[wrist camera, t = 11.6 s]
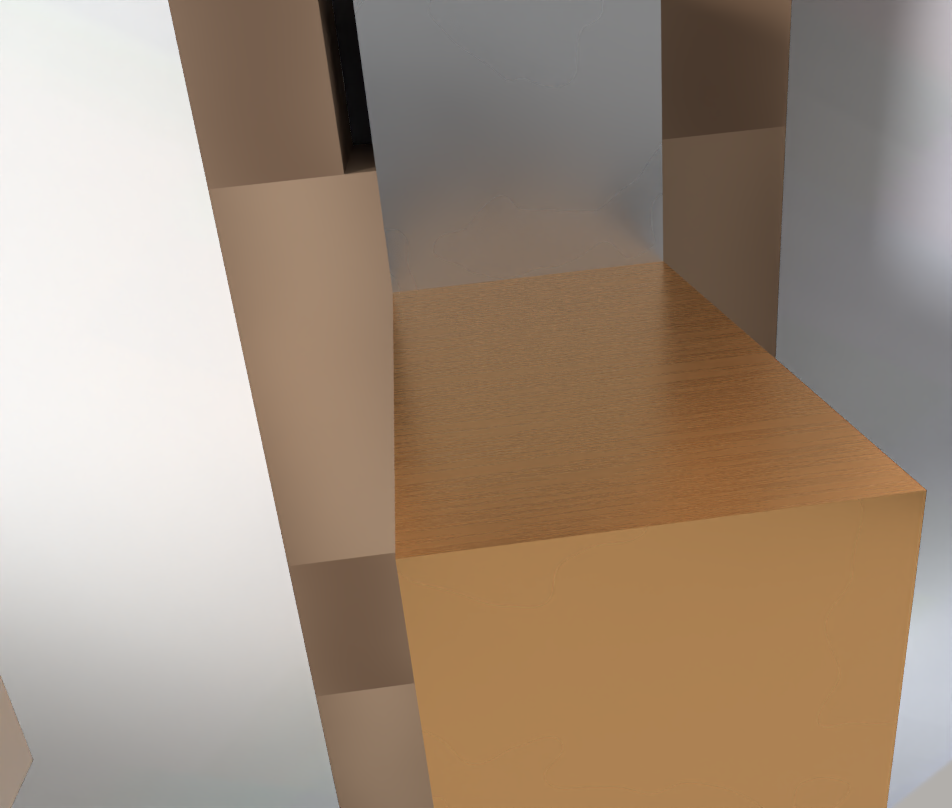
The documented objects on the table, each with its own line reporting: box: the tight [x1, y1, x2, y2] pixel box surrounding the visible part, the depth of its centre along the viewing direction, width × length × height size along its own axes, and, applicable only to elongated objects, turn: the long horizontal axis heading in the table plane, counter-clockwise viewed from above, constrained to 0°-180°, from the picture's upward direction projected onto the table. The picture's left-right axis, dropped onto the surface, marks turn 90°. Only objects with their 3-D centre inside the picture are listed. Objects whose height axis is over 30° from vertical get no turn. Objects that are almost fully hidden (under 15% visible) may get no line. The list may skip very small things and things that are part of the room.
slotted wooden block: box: [168, 0, 792, 808], centre depth 19 cm, size 10×26×4 cm, turn 6°
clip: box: [353, 0, 927, 808], centre depth 14 cm, size 4×13×14 cm, turn 5°
